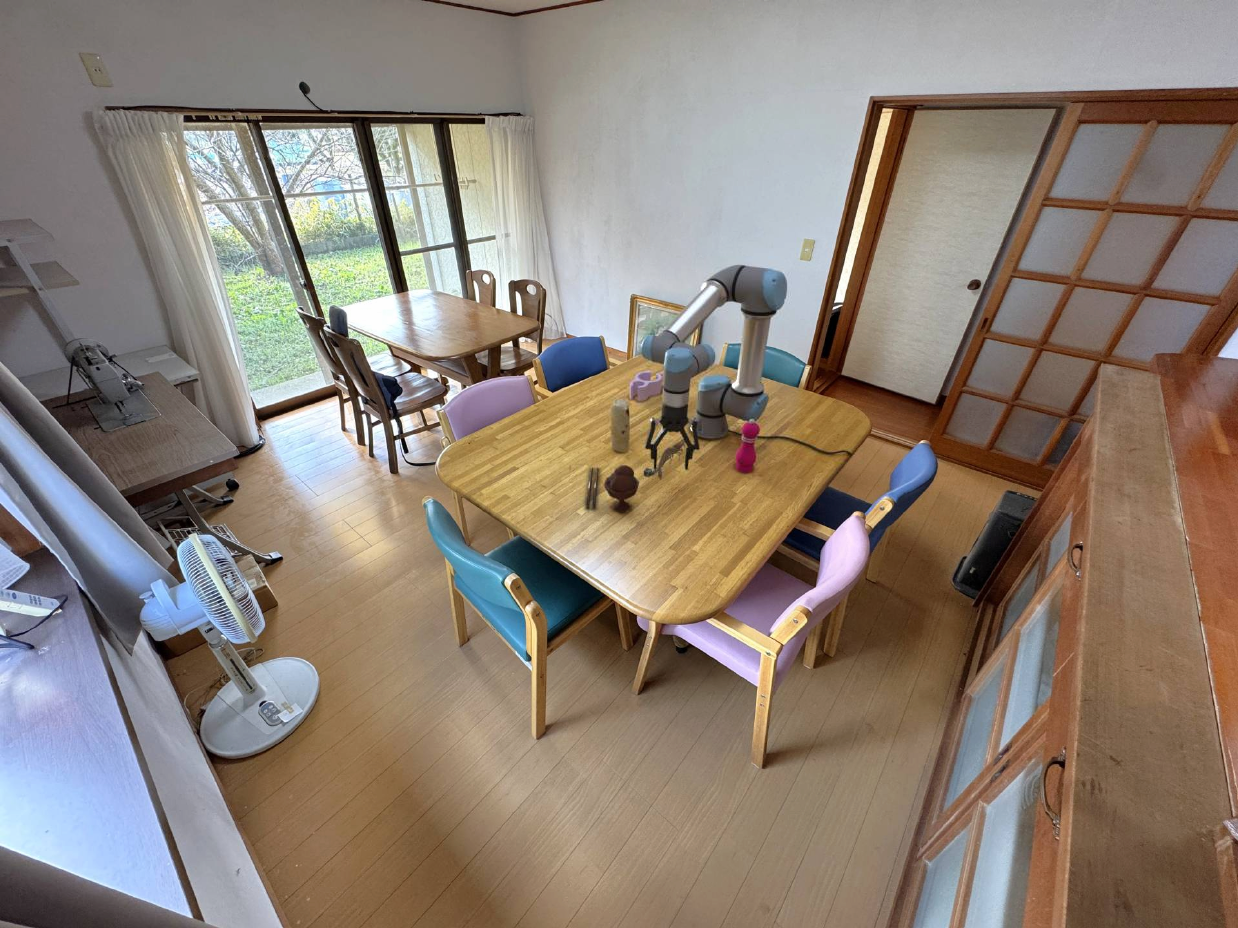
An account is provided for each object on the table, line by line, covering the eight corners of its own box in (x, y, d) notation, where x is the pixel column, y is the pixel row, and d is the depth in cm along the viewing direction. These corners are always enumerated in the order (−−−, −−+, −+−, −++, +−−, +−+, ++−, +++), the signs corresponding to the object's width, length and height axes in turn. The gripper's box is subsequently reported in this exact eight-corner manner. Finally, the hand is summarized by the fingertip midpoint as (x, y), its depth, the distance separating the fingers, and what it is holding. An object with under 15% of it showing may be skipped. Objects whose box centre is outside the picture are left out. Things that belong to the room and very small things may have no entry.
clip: (646, 403, 217) (646, 389, 213) (622, 397, 223) (622, 383, 219) (666, 387, 231) (667, 374, 227) (644, 381, 237) (644, 368, 233)
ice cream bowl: (603, 497, 160) (602, 460, 151) (636, 496, 160) (637, 458, 152) (605, 518, 151) (604, 479, 142) (640, 516, 152) (641, 477, 143)
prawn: (673, 447, 162) (673, 428, 159) (704, 456, 156) (705, 436, 153) (630, 480, 146) (629, 460, 142) (663, 492, 139) (663, 471, 136)
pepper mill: (742, 475, 170) (751, 426, 159) (729, 465, 175) (737, 417, 164) (758, 470, 173) (768, 421, 162) (745, 460, 178) (753, 412, 167)
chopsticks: (598, 469, 174) (598, 467, 173) (595, 509, 155) (594, 507, 154) (590, 469, 174) (590, 467, 173) (586, 509, 155) (585, 507, 154)
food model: (633, 452, 183) (634, 405, 172) (617, 456, 181) (616, 408, 170) (623, 440, 190) (623, 394, 179) (607, 443, 188) (606, 397, 177)
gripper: (711, 397, 141) (703, 461, 154) (637, 396, 142) (635, 460, 154) (715, 408, 135) (706, 474, 148) (637, 408, 136) (635, 473, 148)
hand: (670, 467), depth 151 cm, fingers closed on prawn, 9 cm apart
